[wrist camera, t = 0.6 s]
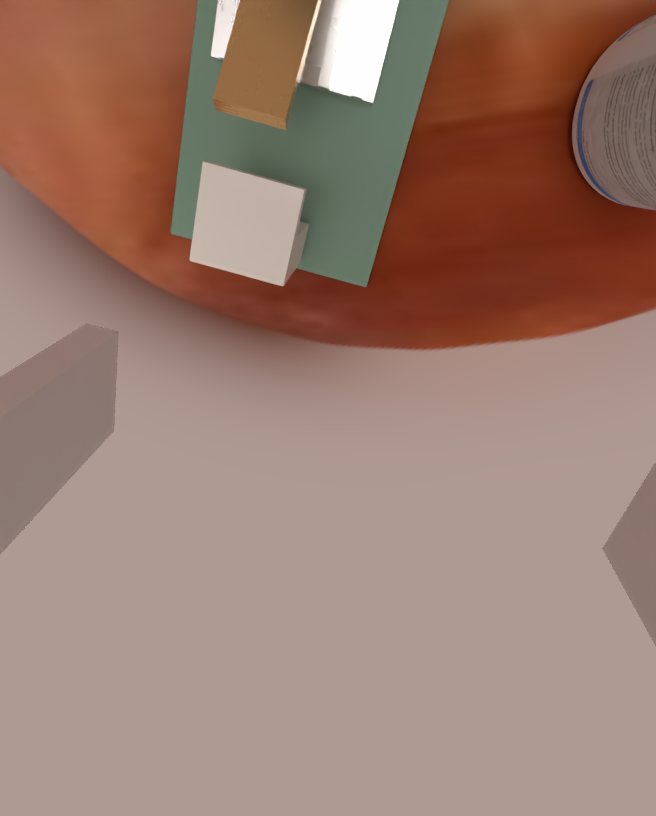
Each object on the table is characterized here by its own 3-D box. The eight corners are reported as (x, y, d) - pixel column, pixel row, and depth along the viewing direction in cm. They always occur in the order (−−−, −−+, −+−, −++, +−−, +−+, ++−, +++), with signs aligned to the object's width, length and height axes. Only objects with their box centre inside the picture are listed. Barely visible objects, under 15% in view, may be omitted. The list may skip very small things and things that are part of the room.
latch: (237, 160, 32) (202, 161, 25) (318, 183, 32) (304, 189, 25) (224, 240, 34) (189, 260, 27) (300, 261, 34) (283, 286, 28)
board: (237, -281, 25) (232, -297, 24) (505, -197, 25) (509, -210, 24) (175, 231, 35) (170, 233, 34) (366, 284, 35) (366, 287, 34)
